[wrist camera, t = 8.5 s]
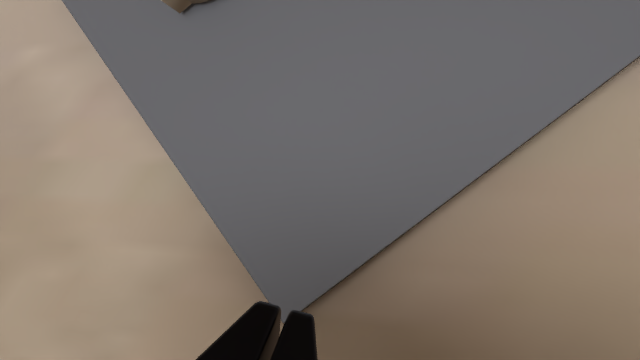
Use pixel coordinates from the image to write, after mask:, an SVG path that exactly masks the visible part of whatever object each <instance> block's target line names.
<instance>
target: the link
mask: <svg viewBox="0 0 640 360" xmlns="http://www.w3.org/2000/svg"><path fill="white" fill-rule="evenodd" d="M161 1H162V2H164V3H165V4H167V5H168V6H170V7H171V8H173V9H174V10H175V11H177V12H178V13H181V12H182V11H184V10H185V9H186V8H187V7H188V6H190V5H191V4H192V3H194V4H196V3H203V2H207V1H209V0H161Z"/></svg>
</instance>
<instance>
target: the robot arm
mask: <svg viewBox="0 0 640 360" xmlns="http://www.w3.org/2000/svg"><path fill="white" fill-rule="evenodd" d="M280 321H281V308H280V307H279V306H278V305H274V304H270V303H266V302H263V301H259V302H257V303H255V304H254V305H253V306H252V307H251V308H250V309H249V310H247V311H246V312H245V313H244V314H243V315H242V316H241V317H240V318H239V319H238V320H237V321H236V322H235V323H234V324H233V325H232V326H231V327H230V328H229V329H227V330H226V331H225V332H224V333H223V334H222V335H221V336H220V337H219V338H218V339H217V340H216V341H215V342H214V343H213V344H212V345H211V346H210V347H209V348H207V349H206V350H205V351H204V352H203V353H202V354H201V355H200V356H199V357H198V358H197V359H196V360H318V359H317V347H316V334H315V322H314V317H313V315H311V314H308V313H305V312H301V311H297V310H292V311H290V312H289V314H288V316H287V319H286V321H285V324H284V326H283V329H282V331H281V334H280V336H279V332H280Z"/></svg>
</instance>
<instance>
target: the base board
mask: <svg viewBox="0 0 640 360" xmlns="http://www.w3.org/2000/svg"><path fill="white" fill-rule="evenodd" d="M62 1H63V3H64V4H65V6H66V7H67V9H68V10H69V11H70V13H71V14H72V16H73V17H74V19H75V20H76V22H77V23H78V25H79V26H80V28H81V29H82V30H83V32H84V33H85V35H86V36H87V38H88V39H89V41H90V42H91V44H92V45H93V46H94V48H95V49H96V51H97V52H98V54H99V55H100V57H101V58H102V60H103V61H104V63H105V64H106V65H107V67H108V68H109V70H110V71H111V73H112V74H113V76H114V77H115V79H116V80H117V81H118V83H119V84H120V86H121V87H122V89H123V90H124V92H125V93H126V95H127V96H128V97H129V99H130V100H131V102H132V103H133V105H134V106H135V108H136V109H137V111H138V112H139V114H140V115H141V116H142V118H143V119H144V121H145V122H146V124H147V125H148V127H149V128H150V130H151V131H152V132H153V134H154V135H155V137H156V138H157V140H158V141H159V143H160V144H161V146H162V147H163V148H164V150H165V151H166V153H167V154H168V156H169V157H170V159H171V160H172V162H173V163H174V165H175V166H176V167H177V169H178V170H179V172H180V173H181V175H182V176H183V178H184V179H185V181H186V182H187V183H188V185H189V186H190V188H191V189H192V191H193V192H194V194H195V195H196V197H197V198H198V200H199V201H200V202H201V204H202V205H203V207H204V208H205V210H206V211H207V213H208V214H209V216H210V217H211V218H212V220H213V221H214V223H215V224H216V226H217V227H218V229H219V230H220V232H221V233H222V234H223V236H224V237H225V239H226V240H227V242H228V243H229V245H230V246H231V248H232V249H233V251H234V252H235V253H236V255H237V256H238V258H239V259H240V261H241V262H242V264H243V265H244V267H245V268H246V269H247V271H248V272H249V274H250V275H251V277H252V278H253V280H254V281H255V283H256V284H257V286H258V287H259V288H260V290H261V291H262V293H263V294H264V296H265V297H266V299H267V300H268V302H269V303H270V304H274V305H278V306H279V307H280V308H281V320H282V322H283V323H285V321H286V319H287V316H288V314H289V312H290V311H292V310H297V311H302V310H303V309H305V308H306V307H307V306H309V305H310V304H311V303H313V302H314V301H315V300H317V299H318V298H319V297H321V296H322V295H323V294H325V293H326V292H327V291H329V290H330V289H331V288H333V287H334V286H335V285H337V284H338V283H339V282H341V281H342V280H343V279H345V278H346V277H347V276H349V275H350V274H351V273H353V272H354V271H355V270H357V269H358V268H359V267H360V266H362V265H363V264H364V263H366V262H367V261H368V260H370V259H371V258H372V257H374V256H375V255H376V254H378V253H379V252H380V251H382V250H383V249H384V248H386V247H387V246H388V245H390V244H391V243H392V242H394V241H395V240H396V239H398V238H399V237H400V236H402V235H403V234H404V233H406V232H407V231H408V230H410V229H411V228H412V227H414V226H415V225H416V224H418V223H419V222H420V221H422V220H423V219H424V218H426V217H427V216H428V215H430V214H431V213H432V212H434V211H435V210H436V209H438V208H439V207H440V206H442V205H443V204H444V203H446V202H447V201H448V200H450V199H451V198H452V197H454V196H455V195H456V194H458V193H459V192H460V191H462V190H463V189H464V188H466V187H467V186H468V185H470V184H471V183H472V182H474V181H475V180H476V179H478V178H479V177H480V176H482V175H483V174H484V173H486V172H487V171H488V170H490V169H491V168H492V167H494V166H495V165H496V164H498V163H499V162H500V161H502V160H503V159H504V158H506V157H507V156H508V155H510V154H511V153H512V152H514V151H515V150H516V149H518V148H519V147H520V146H522V145H523V144H524V143H526V142H527V141H528V140H530V139H531V138H532V137H534V136H535V135H536V134H538V133H539V132H540V131H541V130H543V129H544V128H545V127H547V126H548V125H549V124H551V123H552V122H553V121H555V120H556V119H557V118H559V117H560V116H561V115H563V114H564V113H565V112H567V111H568V110H569V109H571V108H572V107H573V106H575V105H576V104H577V103H579V102H580V101H581V100H583V99H584V98H585V97H587V96H588V95H589V94H591V93H592V92H593V91H595V90H596V89H597V88H599V87H600V86H601V85H603V84H604V83H605V82H607V81H608V80H609V79H611V78H612V77H613V76H615V75H616V74H617V73H619V72H620V71H621V70H623V69H624V68H625V67H627V66H628V65H629V64H631V63H632V62H633V61H635V60H636V59H637V58H639V57H640V0H209V1H207V2H203V3H196V4H194V3H192V4H191V5H190V6H188V7H187V8H186V9H185V10H184V11H182V12H181V13H178V12H177V11H175V10H174V9H173V8H171V7H170V6H168V5H167V4H165V3H164V2H162V1H161V0H62Z"/></svg>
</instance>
